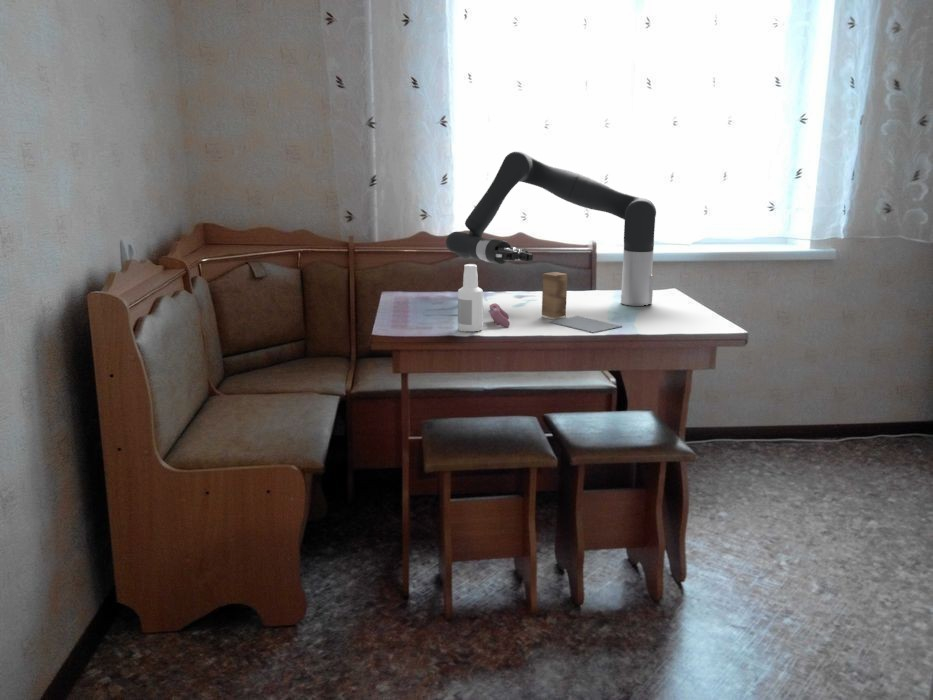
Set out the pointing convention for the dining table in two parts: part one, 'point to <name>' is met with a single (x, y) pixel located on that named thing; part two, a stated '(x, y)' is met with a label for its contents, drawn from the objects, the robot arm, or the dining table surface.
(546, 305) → the walnut block
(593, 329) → the rubber mat
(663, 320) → the dining table surface
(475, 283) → the spray bottle
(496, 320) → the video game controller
